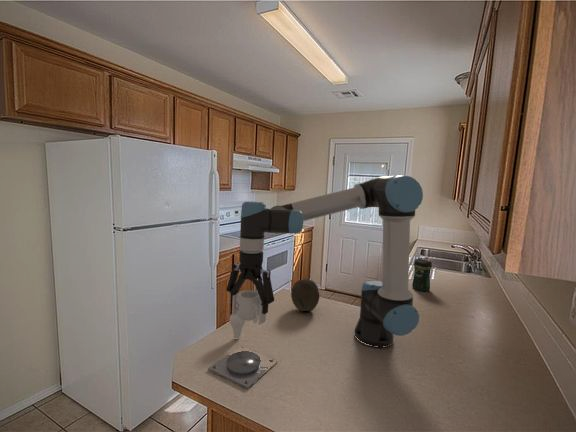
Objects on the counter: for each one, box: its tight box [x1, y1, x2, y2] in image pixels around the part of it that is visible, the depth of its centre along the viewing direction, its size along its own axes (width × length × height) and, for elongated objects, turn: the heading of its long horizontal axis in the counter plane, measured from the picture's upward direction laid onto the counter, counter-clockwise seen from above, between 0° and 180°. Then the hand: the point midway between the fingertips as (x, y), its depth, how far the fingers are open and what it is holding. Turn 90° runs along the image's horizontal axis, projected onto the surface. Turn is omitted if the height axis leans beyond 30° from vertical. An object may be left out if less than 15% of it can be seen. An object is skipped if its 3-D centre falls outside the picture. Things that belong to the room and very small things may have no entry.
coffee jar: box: [411, 258, 433, 292], centre depth 179 cm, size 10×8×19 cm
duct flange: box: [207, 351, 273, 390], centre depth 96 cm, size 16×16×2 cm
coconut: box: [290, 278, 320, 312], centre depth 141 cm, size 14×14×15 cm
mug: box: [236, 289, 262, 324], centre depth 94 cm, size 12×8×8 cm
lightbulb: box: [228, 313, 247, 339], centre depth 113 cm, size 6×6×11 cm
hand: (248, 318), depth 95 cm, fingers closed on mug, 10 cm apart
